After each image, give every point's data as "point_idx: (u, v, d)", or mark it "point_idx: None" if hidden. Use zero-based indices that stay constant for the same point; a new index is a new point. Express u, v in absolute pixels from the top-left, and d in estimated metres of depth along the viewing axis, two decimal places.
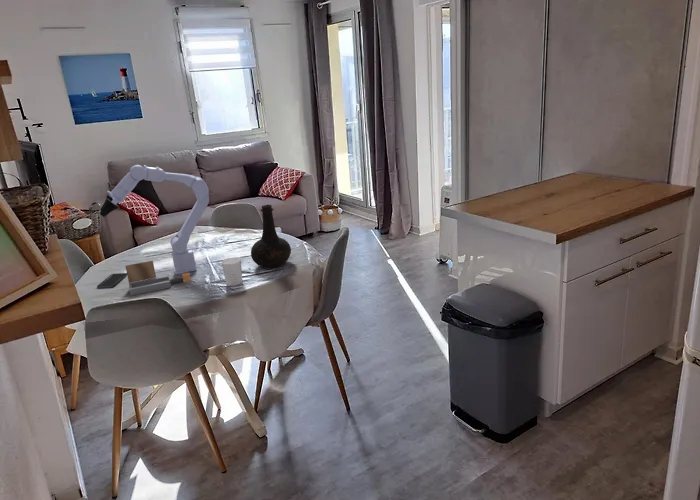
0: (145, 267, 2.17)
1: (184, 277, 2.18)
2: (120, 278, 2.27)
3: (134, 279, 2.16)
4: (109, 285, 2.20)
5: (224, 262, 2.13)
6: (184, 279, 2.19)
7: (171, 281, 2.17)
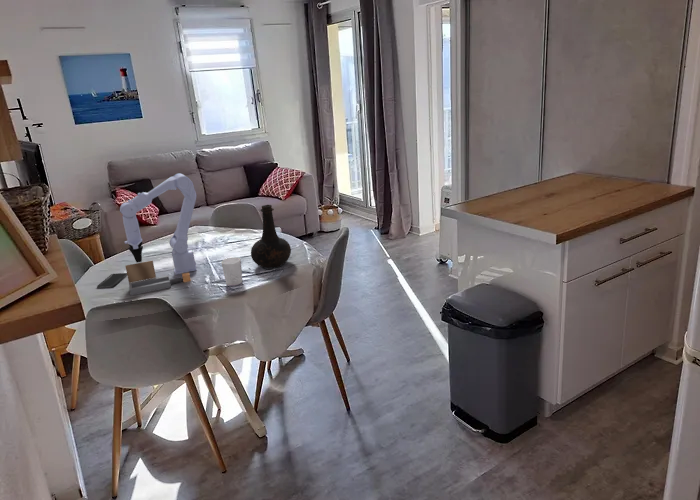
0: (145, 267, 2.17)
1: (184, 277, 2.18)
2: (120, 278, 2.27)
3: (134, 279, 2.16)
4: (109, 285, 2.20)
5: (224, 262, 2.13)
6: (184, 279, 2.19)
7: (171, 281, 2.17)
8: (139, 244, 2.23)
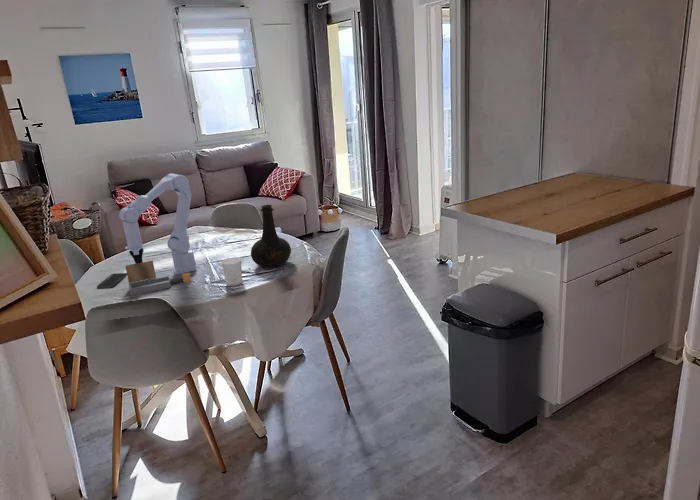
0: (145, 267, 2.17)
1: (184, 277, 2.18)
2: (120, 278, 2.27)
3: (134, 279, 2.16)
4: (109, 285, 2.20)
5: (224, 262, 2.13)
6: (184, 279, 2.19)
7: (171, 281, 2.17)
8: None
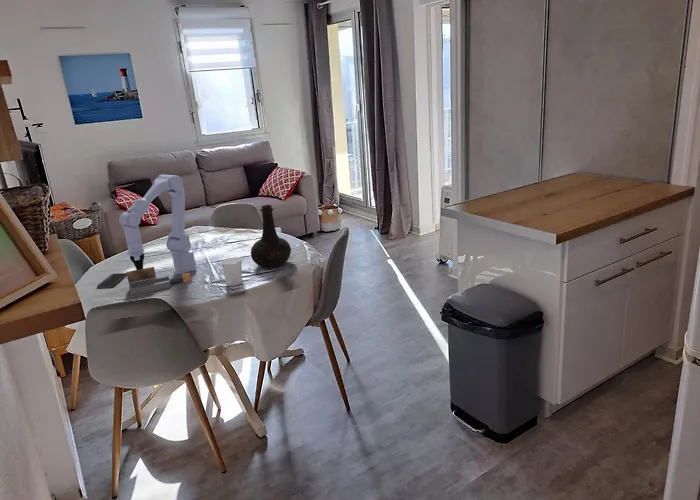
0: (146, 272, 2.14)
1: (184, 277, 2.18)
2: (120, 278, 2.27)
3: (134, 280, 2.15)
4: (109, 285, 2.20)
5: (224, 262, 2.13)
6: (184, 279, 2.19)
7: (171, 281, 2.17)
8: None
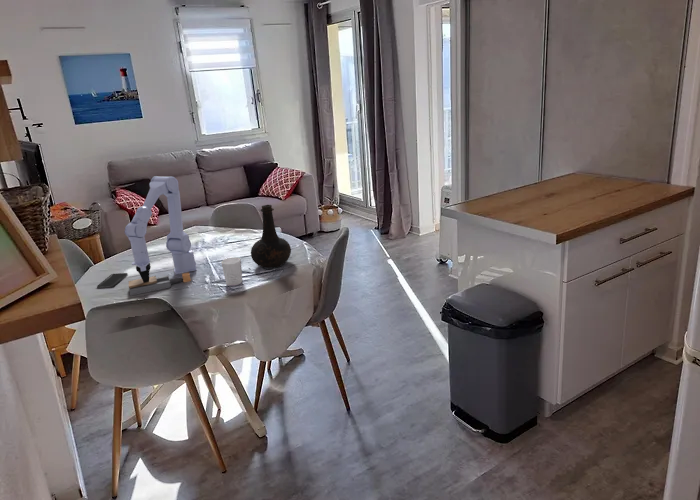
0: None
1: (184, 277, 2.18)
2: (120, 278, 2.27)
3: None
4: (109, 285, 2.20)
5: (224, 262, 2.13)
6: (184, 279, 2.19)
7: (171, 281, 2.17)
8: None
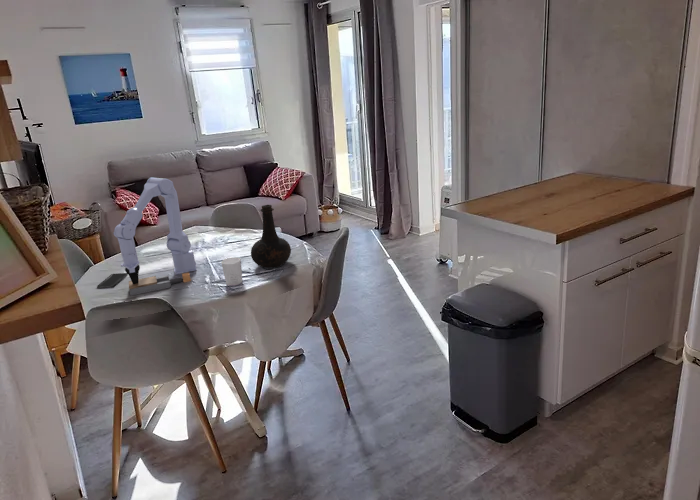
0: None
1: (184, 277, 2.18)
2: (120, 278, 2.27)
3: None
4: (109, 285, 2.20)
5: (224, 262, 2.13)
6: (184, 279, 2.19)
7: (171, 281, 2.17)
8: None
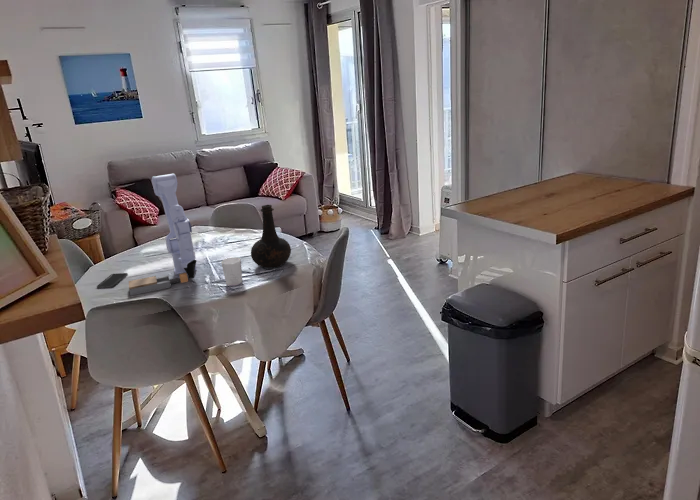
0: None
1: (181, 277, 2.18)
2: (120, 278, 2.27)
3: None
4: (109, 285, 2.20)
5: (224, 262, 2.13)
6: (181, 279, 2.18)
7: None
8: None
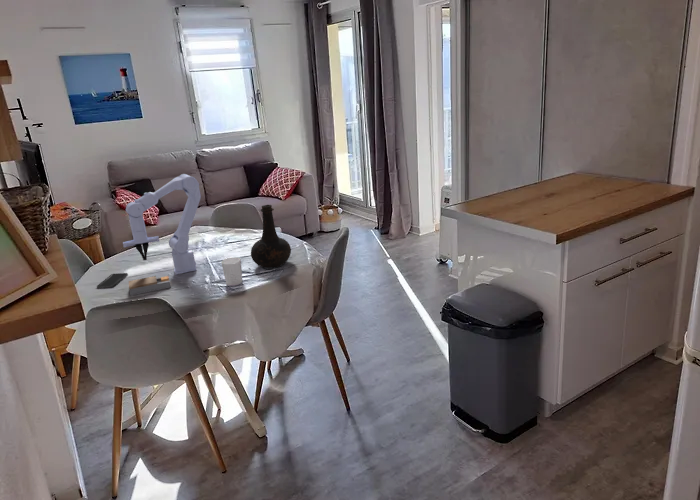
0: None
1: (163, 281, 2.16)
2: (120, 278, 2.27)
3: None
4: (109, 285, 2.20)
5: (224, 262, 2.13)
6: None
7: None
8: None
